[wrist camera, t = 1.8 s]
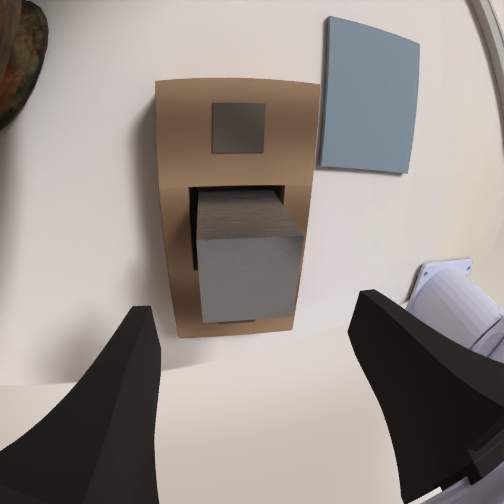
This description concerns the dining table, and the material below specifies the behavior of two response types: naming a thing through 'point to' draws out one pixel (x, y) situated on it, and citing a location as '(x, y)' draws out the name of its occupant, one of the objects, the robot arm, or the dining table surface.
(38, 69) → the pitcher
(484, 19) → the adjustable wrench
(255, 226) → the steel peg
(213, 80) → the brown flat rectangular block
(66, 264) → the dining table surface
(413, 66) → the slate mat
